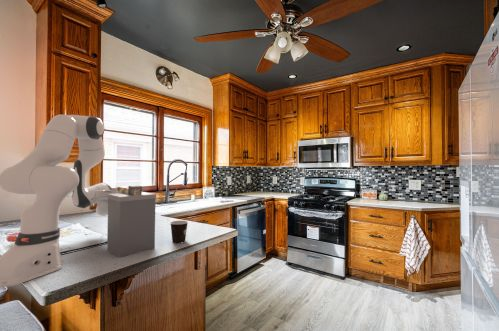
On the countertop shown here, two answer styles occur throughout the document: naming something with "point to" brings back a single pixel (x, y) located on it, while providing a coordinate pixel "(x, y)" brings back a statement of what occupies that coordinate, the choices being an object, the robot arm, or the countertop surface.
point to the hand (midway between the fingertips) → (121, 188)
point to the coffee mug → (178, 231)
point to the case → (131, 223)
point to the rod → (131, 190)
